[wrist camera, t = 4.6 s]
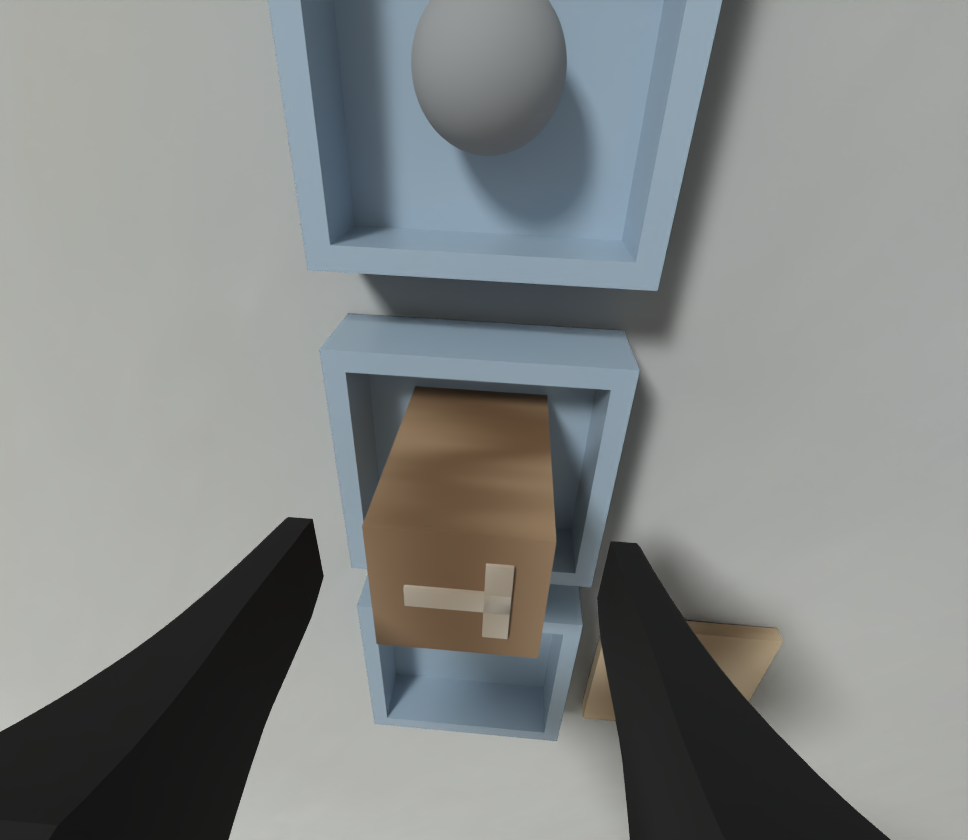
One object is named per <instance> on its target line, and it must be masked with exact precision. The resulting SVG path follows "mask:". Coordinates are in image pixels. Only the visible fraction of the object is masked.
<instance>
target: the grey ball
mask: <svg viewBox="0 0 968 840" xmlns="http://www.w3.org/2000/svg"><path fill="white" fill-rule="evenodd" d="M411 70H412V79H413V85H414V90H415V93H416V96H417V99H418V102H419V104H420V107H421V109H422V111H423V113H424V115H425V116H426V118H427V120H428V121H429V123H430V124H431V125H432V127H433V128H434V130H435V131H436V132H437V133H438V134H439V135H440V136H441V137H442V138H444V139H445V140H446V141H447V142H448V143H450V144H451V145H453V146H455V147H456V148H458V149H460V150H463V151H465V152H467V153H471V154H475V155H481V156H496V155H502V154H506V153H509V152H512V151H515V150H517V149H519V148H521V147H523V146H524V145H526V144H527V143H529V142H530V141H531V140H532V139H534V138H535V137H536V136H537V135H538V134H539V133H540V132H541V131H542V130H543V129H544V127H545V126H546V125H547V123H548V122H549V121H550V119H551V118H552V116H553V114H554V112H555V110H556V108H557V106H558V104H559V101H560V99H561V96H562V92H563V88H564V85H565V78H566V70H567V53H566V44H565V38H564V33H563V30H562V27H561V23H560V21H559V18H558V16H557V14H556V12H555V10H554V8H553V6H552V5H551V3H550V1H549V0H430V1H429V3H428V4H427V6H426V7H425V9H424V11H423V13H422V15H421V17H420V20H419V22H418V25H417V28H416V31H415V35H414V39H413V45H412V53H411Z"/></svg>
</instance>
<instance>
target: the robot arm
mask: <svg viewBox="0 0 968 840" xmlns="http://www.w3.org/2000/svg"><path fill="white" fill-rule="evenodd" d="M323 577H324V576H323V571H322V565H321V560H320V555H319V550H318V544H317V539H316V534H315V529H314V524H313V519H306V518H293V517H288V518H286V519H285V520H284V521H283V522H282V523H281V524H280V525H279V526H278V527H277V528H276V529H275V530H273V531H272V532H271V533H270V534H269V535H268V536H267V537H266V538H265V539H264V540H263V541H262V542H261V543H260V544H259V545H258V546H257V547H256V548H255V549H254V550H253V551H252V552H251V553H249V554H248V555H247V556H246V557H245V558H244V559H243V560H242V561H241V562H240V563H239V564H238V565H237V566H236V567H234V568H233V569H232V570H231V571H230V572H229V573H228V574H227V575H226V576H225V577H223V578H222V579H221V580H220V581H219V582H218V583H217V584H216V585H215V586H213V587H212V588H211V589H210V590H209V591H208V592H207V593H205V594H204V595H203V596H202V597H201V598H199V599H198V600H197V601H196V602H195V603H193V604H192V605H191V606H190V607H189V608H188V609H186V610H185V611H184V612H183V613H182V614H180V615H179V616H178V617H177V618H175V619H174V620H173V621H172V622H170V623H169V624H168V625H166V626H165V627H164V628H163V629H161V630H160V631H159V632H157V633H156V634H155V635H153V636H152V637H151V638H149V639H148V640H147V641H145V642H144V643H142V644H141V645H140V646H138V647H137V648H136V649H134V650H133V651H131V652H130V653H129V654H127V655H126V656H124V657H123V658H121V659H120V660H118V661H117V662H115V663H114V664H112V665H111V666H109V667H108V668H106V669H104V670H103V671H101V672H100V673H98V674H97V675H95V676H94V677H92V678H91V679H89V680H88V681H86V682H85V683H83V684H82V685H80V686H79V687H77V688H75V689H74V690H72V691H70V692H69V693H67V694H65V695H64V696H62V697H60V698H59V699H57V700H55V701H54V702H52V703H50V704H49V705H47V706H45V707H44V708H42V709H40V710H38V711H37V712H35V713H33V714H31V715H30V716H28V717H26V718H24V719H23V720H21V721H19V722H17V723H16V724H14V725H12V726H10V727H8V728H7V729H5V730H3V731H1V732H0V840H228V839H229V836H230V833H231V829H232V826H233V822H234V819H235V816H236V812H237V809H238V806H239V803H240V800H241V797H242V793H243V790H244V787H245V784H246V781H247V777H248V774H249V771H250V768H251V765H252V762H253V759H254V756H255V753H256V750H257V747H258V744H259V741H260V738H261V735H262V732H263V729H264V726H265V724H266V721H267V719H268V716H269V714H270V711H271V709H272V706H273V704H274V702H275V699H276V697H277V695H278V693H279V690H280V688H281V686H282V683H283V681H284V679H285V677H286V674H287V672H288V670H289V668H290V665H291V663H292V661H293V658H294V656H295V654H296V652H297V649H298V647H299V645H300V642H301V640H302V638H303V636H304V633H305V631H306V629H307V626H308V624H309V622H310V619H311V617H312V614H313V610H314V607H315V604H316V601H317V598H318V594H319V591H320V587H321V584H322V580H323ZM597 600H598V614H599V628H600V639H601V645H602V651H603V656H604V662H605V667H606V672H607V678H608V683H609V688H610V693H611V699H612V704H613V709H614V714H615V719H616V725H617V730H618V735H619V741H620V748H621V754H622V762H623V771H624V781H625V791H626V801H627V812H628V823H629V834H630V840H890V839H889V838H888V837H887V836H886V835H885V834H883V833H882V832H881V831H880V830H879V829H877V828H876V827H875V826H874V825H873V824H872V823H870V822H869V821H868V820H867V819H866V818H865V817H863V816H862V815H861V814H860V813H859V812H858V811H856V810H855V809H854V808H853V807H852V806H851V805H850V804H849V803H848V802H847V801H845V800H844V799H843V798H842V797H841V796H840V795H839V794H838V793H837V792H836V791H835V790H834V789H833V788H832V787H830V786H829V785H828V784H827V783H826V782H825V781H824V780H823V779H822V778H821V777H820V776H819V775H818V774H817V773H816V772H815V771H814V770H813V769H812V768H811V767H810V766H809V765H808V764H807V763H806V762H805V761H804V760H803V759H802V758H801V757H800V756H799V755H798V754H797V753H796V752H795V751H794V750H793V749H792V748H791V747H790V746H789V745H788V744H787V743H786V742H785V741H784V740H783V739H782V738H781V737H780V736H779V735H778V734H777V733H776V732H775V731H774V730H773V729H772V727H771V726H770V725H769V724H768V723H767V722H766V721H765V720H764V719H763V717H762V716H761V715H760V714H759V713H758V712H757V711H756V710H755V709H754V707H753V706H752V705H751V704H750V703H749V702H748V701H747V699H746V698H745V697H744V696H743V695H742V694H741V692H740V691H739V690H738V689H737V688H736V687H735V685H734V684H733V683H732V682H731V680H730V679H729V678H728V677H727V676H726V674H725V673H724V672H723V671H722V669H721V668H720V667H719V665H718V664H717V663H716V662H715V660H714V659H713V658H712V656H711V655H710V654H709V652H708V651H707V650H706V648H705V647H704V646H703V644H702V643H701V642H700V640H699V639H698V637H697V636H696V635H695V633H694V632H693V630H692V629H691V628H690V626H689V625H688V623H687V622H686V620H685V619H684V617H683V616H682V614H681V613H680V611H679V610H678V608H677V607H676V605H675V604H674V602H673V601H672V599H671V598H670V596H669V595H668V593H667V592H666V590H665V588H664V587H663V585H662V583H661V582H660V580H659V579H658V577H657V575H656V574H655V572H654V570H653V569H652V567H651V565H650V564H649V562H648V560H647V558H646V557H645V555H644V553H643V551H642V549H641V548H640V546H639V545H638V544H637V543H626V542H613V541H611V543H610V547H609V551H608V555H607V560H606V564H605V568H604V572H603V576H602V581H601V585H600V589H599V593H598V598H597Z"/></svg>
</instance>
